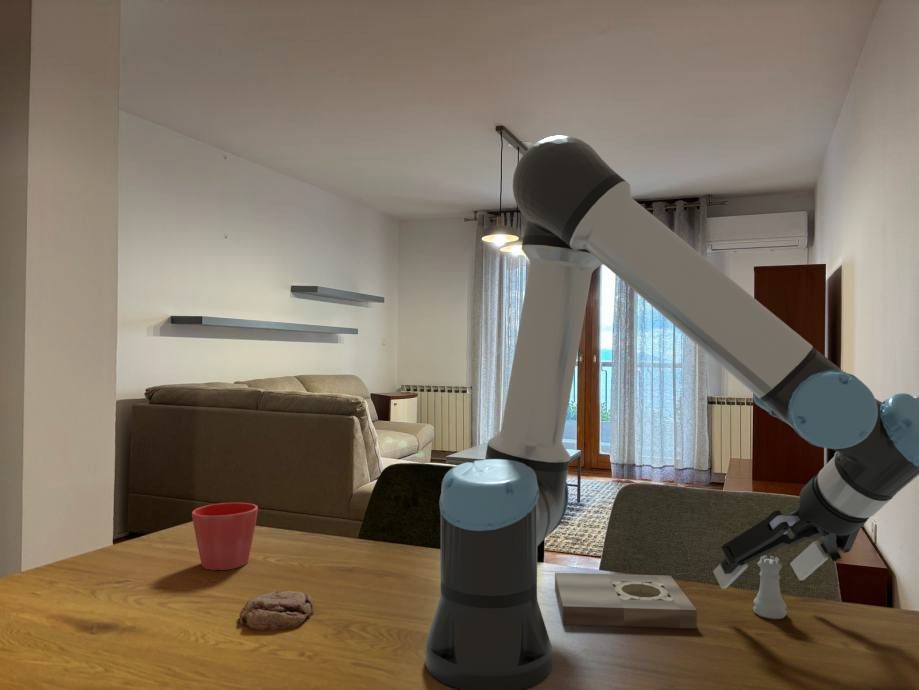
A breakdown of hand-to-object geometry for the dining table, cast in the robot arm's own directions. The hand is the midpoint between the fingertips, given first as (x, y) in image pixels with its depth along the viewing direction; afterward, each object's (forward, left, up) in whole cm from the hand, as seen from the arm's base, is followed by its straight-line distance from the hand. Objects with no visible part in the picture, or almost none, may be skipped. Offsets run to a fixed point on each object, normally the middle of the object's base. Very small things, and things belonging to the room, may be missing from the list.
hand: (758, 575), depth 98 cm
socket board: (-1, +20, -5) cm, 21 cm away
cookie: (-8, +69, -5) cm, 70 cm away
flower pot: (+14, +86, -5) cm, 88 cm away
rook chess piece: (-2, -1, -5) cm, 5 cm away
